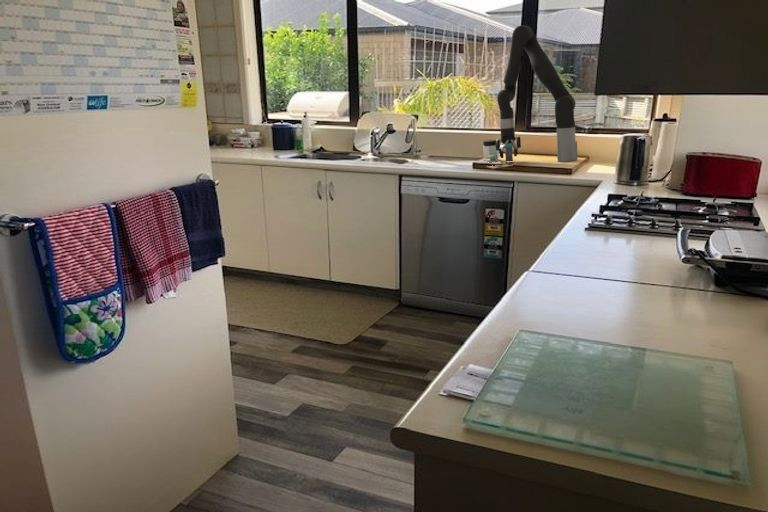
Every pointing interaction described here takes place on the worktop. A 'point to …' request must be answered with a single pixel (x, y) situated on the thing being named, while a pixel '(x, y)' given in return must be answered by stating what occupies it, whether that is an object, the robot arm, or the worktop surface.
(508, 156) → the marker
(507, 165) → the paper
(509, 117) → the robot arm
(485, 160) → the button base
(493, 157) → the button
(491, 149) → the jar
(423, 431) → the worktop surface
